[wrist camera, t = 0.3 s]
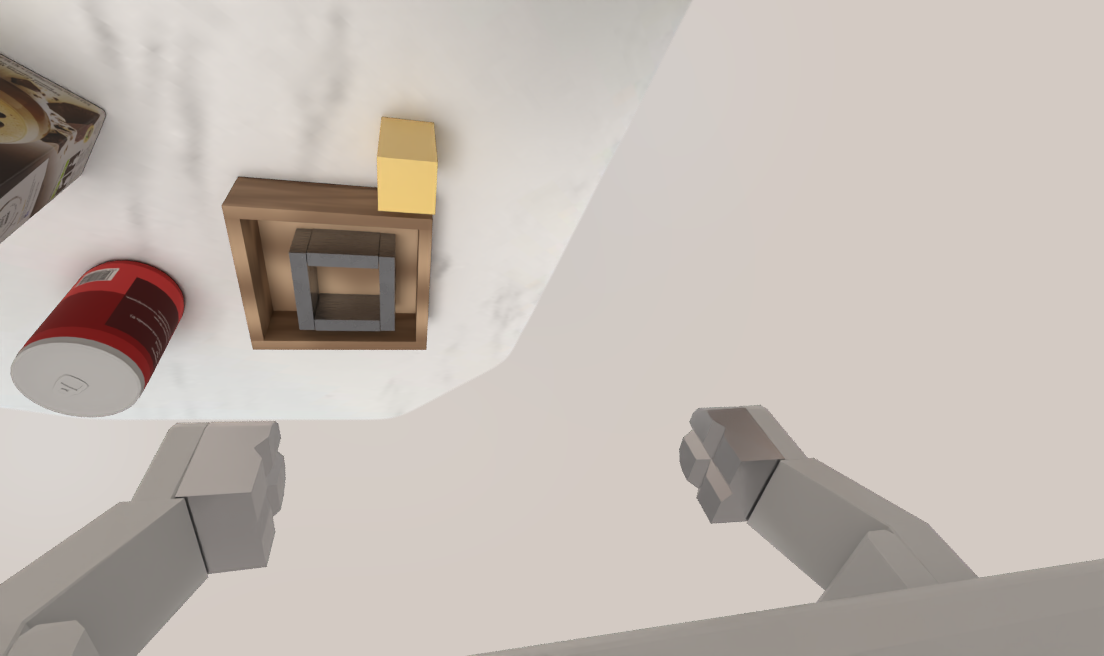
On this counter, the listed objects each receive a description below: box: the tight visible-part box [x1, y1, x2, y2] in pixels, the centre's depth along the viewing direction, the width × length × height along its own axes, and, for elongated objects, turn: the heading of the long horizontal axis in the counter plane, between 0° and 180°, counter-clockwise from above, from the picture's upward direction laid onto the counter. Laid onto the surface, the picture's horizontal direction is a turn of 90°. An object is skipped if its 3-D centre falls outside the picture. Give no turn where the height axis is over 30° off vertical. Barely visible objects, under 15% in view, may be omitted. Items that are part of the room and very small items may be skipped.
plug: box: [377, 117, 438, 215], centre depth 40 cm, size 4×4×8 cm
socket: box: [289, 228, 396, 331], centre depth 47 cm, size 8×8×4 cm
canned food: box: [11, 260, 184, 417], centre depth 43 cm, size 8×8×11 cm
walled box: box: [222, 177, 433, 350], centre depth 47 cm, size 14×15×5 cm
